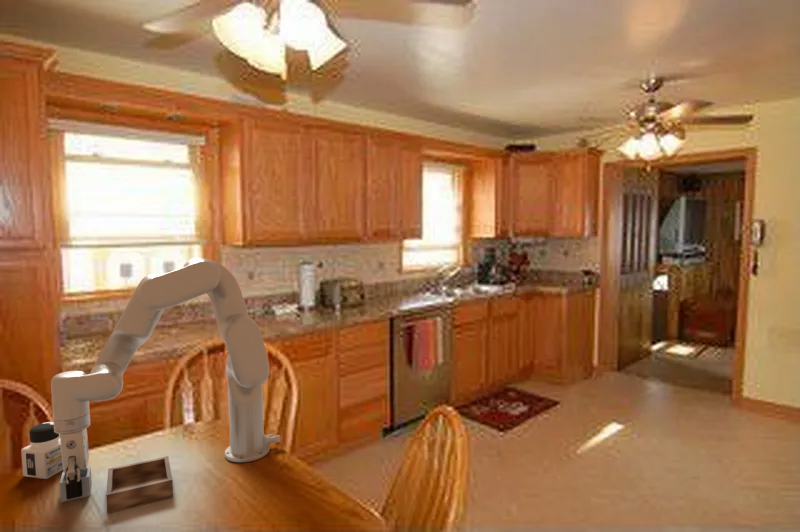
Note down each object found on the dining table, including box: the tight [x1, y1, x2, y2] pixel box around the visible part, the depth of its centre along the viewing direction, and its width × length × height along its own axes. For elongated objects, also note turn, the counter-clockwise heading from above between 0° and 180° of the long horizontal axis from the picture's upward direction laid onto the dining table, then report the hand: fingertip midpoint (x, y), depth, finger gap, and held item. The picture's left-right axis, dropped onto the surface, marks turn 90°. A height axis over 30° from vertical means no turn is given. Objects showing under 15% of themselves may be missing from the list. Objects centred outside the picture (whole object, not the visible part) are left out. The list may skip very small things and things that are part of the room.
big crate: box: [105, 455, 174, 514], centre depth 124 cm, size 14×14×4 cm
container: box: [20, 421, 63, 480], centre depth 134 cm, size 8×8×13 cm
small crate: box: [59, 465, 93, 503], centre depth 123 cm, size 6×6×5 cm
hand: (76, 487), depth 123 cm, fingers open, 9 cm apart
